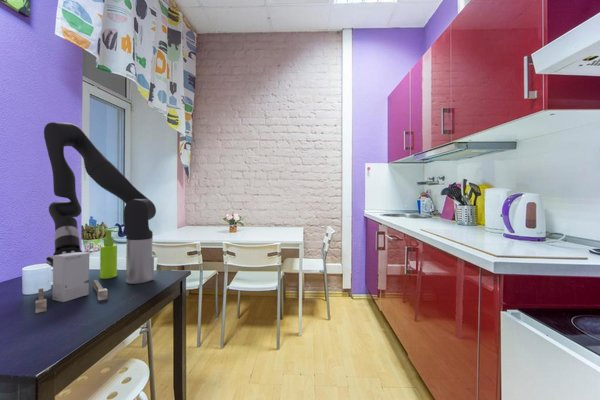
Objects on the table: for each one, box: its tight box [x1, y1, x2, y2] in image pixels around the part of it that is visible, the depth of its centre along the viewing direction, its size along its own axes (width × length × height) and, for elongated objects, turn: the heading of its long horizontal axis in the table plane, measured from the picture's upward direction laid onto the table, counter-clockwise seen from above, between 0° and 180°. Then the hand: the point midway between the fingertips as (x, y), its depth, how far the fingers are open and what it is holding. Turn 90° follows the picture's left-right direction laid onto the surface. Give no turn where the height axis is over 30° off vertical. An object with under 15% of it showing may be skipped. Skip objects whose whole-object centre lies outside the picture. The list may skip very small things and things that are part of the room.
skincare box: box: [51, 251, 90, 303], centre depth 95 cm, size 8×6×15 cm
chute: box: [35, 279, 109, 314], centre depth 95 cm, size 18×18×3 cm
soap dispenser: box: [99, 228, 120, 280], centre depth 120 cm, size 6×7×20 cm
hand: (69, 278), depth 102 cm, fingers closed
